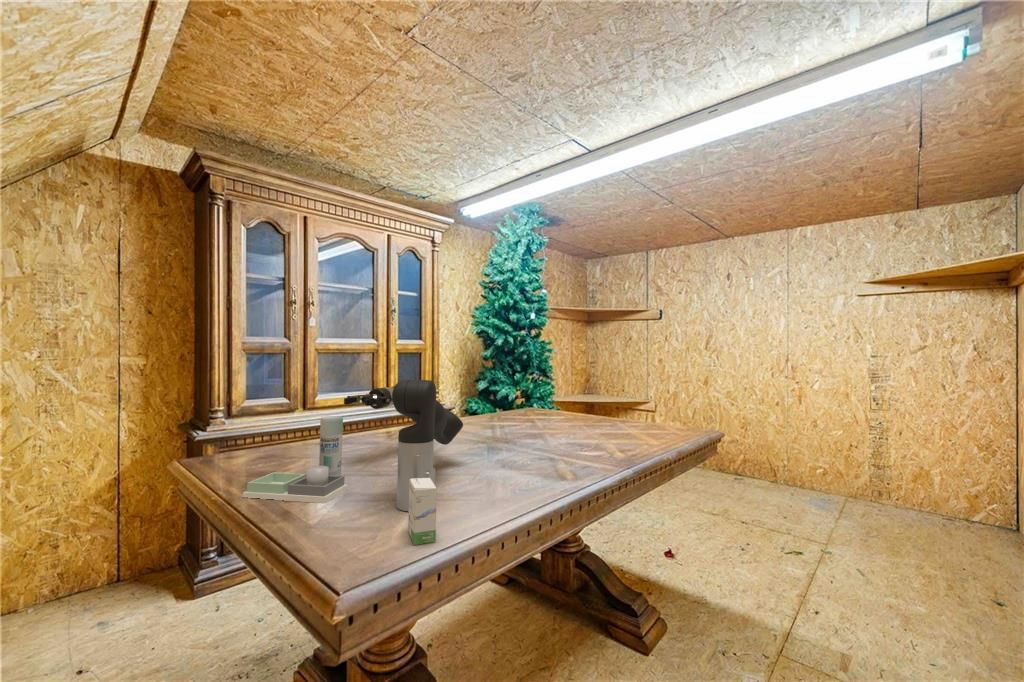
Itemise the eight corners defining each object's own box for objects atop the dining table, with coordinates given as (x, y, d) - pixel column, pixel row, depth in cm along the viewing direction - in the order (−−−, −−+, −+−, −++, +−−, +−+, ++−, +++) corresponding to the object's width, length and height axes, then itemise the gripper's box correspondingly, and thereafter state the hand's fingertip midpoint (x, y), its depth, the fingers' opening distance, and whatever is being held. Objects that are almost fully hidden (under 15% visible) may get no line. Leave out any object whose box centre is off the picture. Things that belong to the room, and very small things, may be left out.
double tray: (347, 489, 127) (348, 463, 127) (325, 503, 115) (326, 474, 115) (272, 485, 129) (273, 459, 130) (242, 498, 118) (243, 470, 118)
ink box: (436, 542, 92) (437, 486, 92) (412, 546, 90) (414, 489, 90) (429, 527, 100) (430, 476, 100) (407, 530, 98) (408, 478, 98)
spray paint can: (342, 478, 137) (344, 415, 138) (339, 484, 131) (341, 418, 132) (320, 479, 136) (323, 415, 137) (316, 485, 130) (318, 418, 130)
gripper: (399, 408, 158) (373, 414, 143) (366, 406, 163) (337, 412, 147) (400, 388, 159) (373, 391, 143) (367, 386, 163) (337, 390, 147)
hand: (355, 402), depth 145 cm, fingers open, 8 cm apart
